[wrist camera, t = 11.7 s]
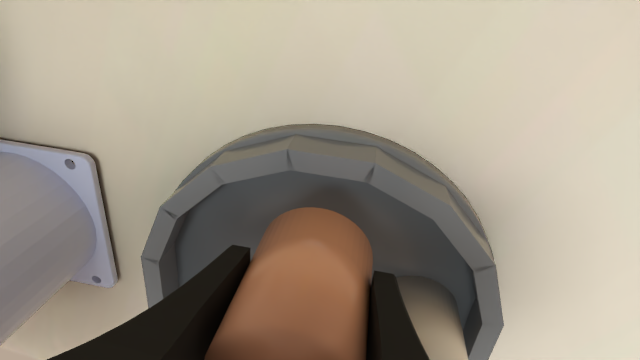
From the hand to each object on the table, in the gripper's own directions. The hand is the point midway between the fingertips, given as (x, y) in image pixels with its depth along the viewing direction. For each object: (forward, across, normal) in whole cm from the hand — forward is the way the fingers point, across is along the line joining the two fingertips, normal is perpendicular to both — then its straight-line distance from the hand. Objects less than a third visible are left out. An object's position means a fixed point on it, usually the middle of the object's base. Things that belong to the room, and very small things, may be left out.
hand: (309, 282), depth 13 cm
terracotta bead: (+1, 0, 0) cm, 1 cm away
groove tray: (+5, 0, +4) cm, 7 cm away
